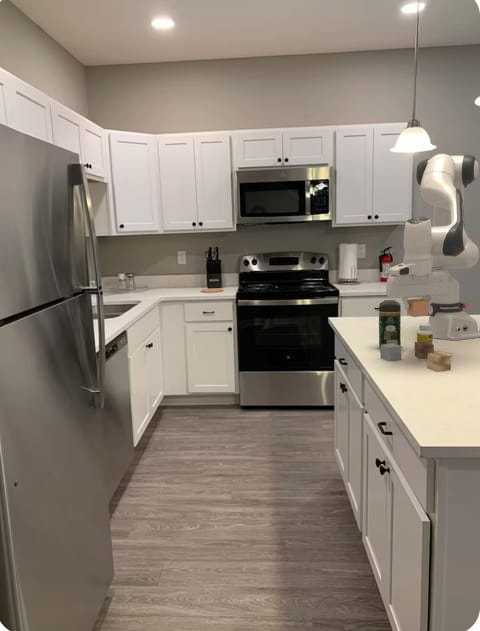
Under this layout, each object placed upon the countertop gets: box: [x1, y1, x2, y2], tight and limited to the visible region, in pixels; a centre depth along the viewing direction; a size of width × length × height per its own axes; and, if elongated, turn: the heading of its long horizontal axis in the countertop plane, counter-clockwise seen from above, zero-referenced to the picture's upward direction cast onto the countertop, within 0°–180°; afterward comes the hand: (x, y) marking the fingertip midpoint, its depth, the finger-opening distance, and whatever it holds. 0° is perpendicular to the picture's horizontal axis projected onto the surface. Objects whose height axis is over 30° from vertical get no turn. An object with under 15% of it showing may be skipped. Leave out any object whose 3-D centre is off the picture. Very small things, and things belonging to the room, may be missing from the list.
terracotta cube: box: [406, 298, 429, 318], centre depth 161 cm, size 5×5×5 cm
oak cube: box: [426, 351, 452, 373], centre depth 157 cm, size 5×5×5 cm
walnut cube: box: [414, 341, 435, 360], centre depth 171 cm, size 5×5×5 cm
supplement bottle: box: [416, 323, 434, 344], centre depth 179 cm, size 5×5×10 cm
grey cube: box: [380, 343, 402, 362], centre depth 171 cm, size 5×5×5 cm
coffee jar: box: [378, 299, 402, 350], centre depth 184 cm, size 10×8×19 cm
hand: (417, 309), depth 162 cm, fingers closed on terracotta cube, 5 cm apart
